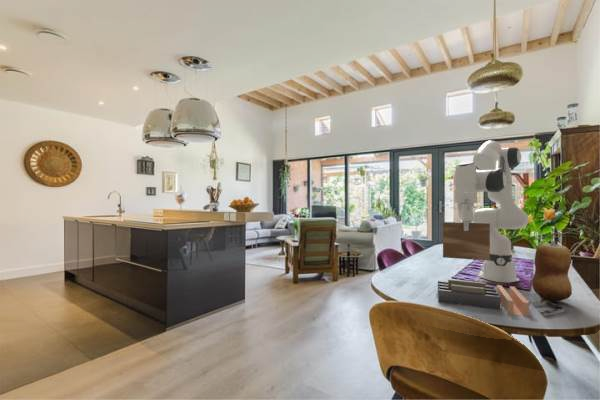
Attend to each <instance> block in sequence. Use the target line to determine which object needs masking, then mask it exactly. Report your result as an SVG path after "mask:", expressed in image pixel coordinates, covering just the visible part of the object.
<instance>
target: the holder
mask: <svg viewBox="0 0 600 400" xmlns="http://www.w3.org/2000/svg"><path fill="white" fill-rule="evenodd" d="M496 292H497V293H498V296H500V297H501V307H503V309H504V310H505V312H506V314H508V315H515V316H523V317H530V303H529V301H528V300H527V299H526V297H524V296H523V295H522V293H521V292H520V291H519V290H518V289H517V287H515V286H509V292H508V291H506V290H505V288H504V287H503V285H500V284H496ZM508 293H509V294H508Z"/></svg>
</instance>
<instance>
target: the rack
mask: <svg viewBox="0 0 600 400" xmlns="http://www.w3.org/2000/svg"><path fill="white" fill-rule="evenodd" d="M437 297H438V300H437V301H438V303H442V304H443V303H444V304H451V305H459V306H467V307H474V308H482V309H490V310H497V311H501V307H502V304H501V297H500V296H498V293H497V289H495V287H494V286H491V285H486V291H485V294H478V293H469V292H461V291H452V290H451V287H448V281H444V280H437Z"/></svg>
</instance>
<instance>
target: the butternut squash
mask: <svg viewBox="0 0 600 400" xmlns="http://www.w3.org/2000/svg"><path fill="white" fill-rule="evenodd" d="M534 255H535V256H534V261H533V262H534V268H535V269H534V275H533V276H532V279H531V285H532V288H533V291H534V292H535V294H537V296H539V298H541V299H542V301H545V300H547V301H550V302H551V303H555V302H556V303H557V302H562V301H565V300H568V299H569V298H571V296H572V295H573V294H572V291H573V289H572V283H571V281H570V278H569V271H570V266H571V263H572V255H571V251H570V249H569V248H568V247H567V246H564V245H561V244H554V243H551V242H550V243H549V242H544V243H540V244H539V245H538V246H537V247H536V251H535V254H534Z"/></svg>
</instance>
